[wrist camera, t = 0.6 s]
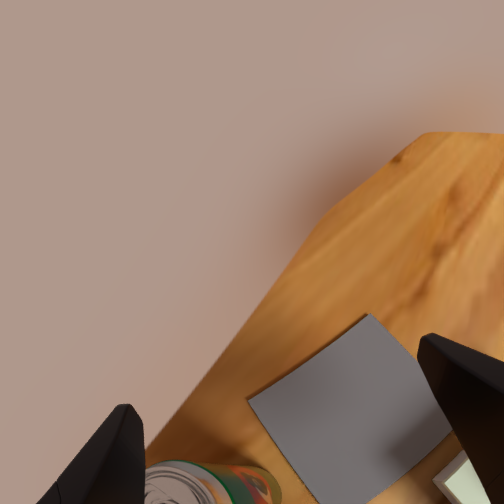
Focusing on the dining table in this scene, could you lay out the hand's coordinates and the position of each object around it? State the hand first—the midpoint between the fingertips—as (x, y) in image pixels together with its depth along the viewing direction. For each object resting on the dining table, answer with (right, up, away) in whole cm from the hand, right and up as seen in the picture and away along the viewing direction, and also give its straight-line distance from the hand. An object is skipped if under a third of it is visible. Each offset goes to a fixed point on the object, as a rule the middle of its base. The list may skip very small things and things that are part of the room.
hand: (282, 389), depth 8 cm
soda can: (-1, -14, +9) cm, 17 cm away
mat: (+7, -8, +11) cm, 15 cm away
